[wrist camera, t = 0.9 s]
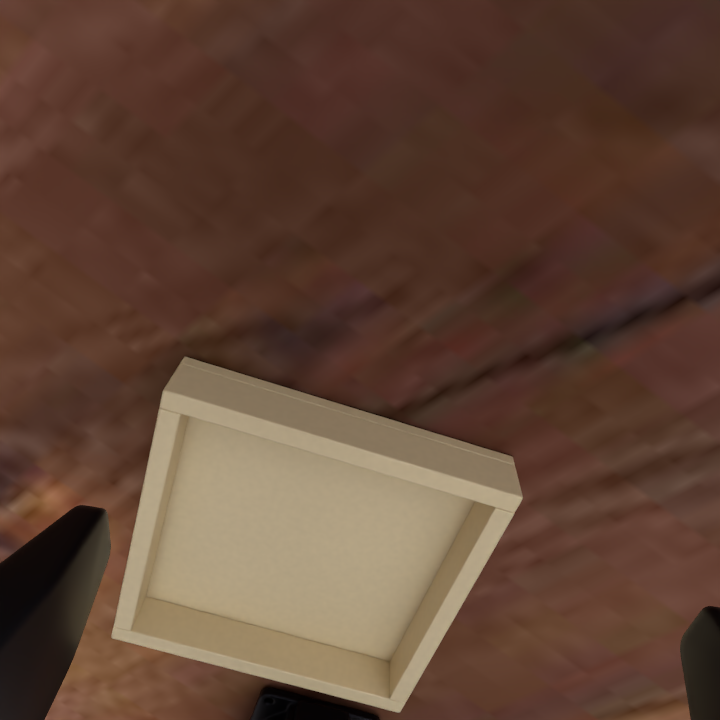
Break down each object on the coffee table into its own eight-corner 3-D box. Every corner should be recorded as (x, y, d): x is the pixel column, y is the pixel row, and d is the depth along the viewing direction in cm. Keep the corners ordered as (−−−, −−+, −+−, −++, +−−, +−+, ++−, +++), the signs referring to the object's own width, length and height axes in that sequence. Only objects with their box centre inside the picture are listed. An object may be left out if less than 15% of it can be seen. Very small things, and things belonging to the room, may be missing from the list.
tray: (399, 664, 33) (399, 713, 30) (131, 592, 31) (110, 638, 29) (513, 456, 26) (524, 498, 24) (184, 355, 25) (162, 389, 23)
